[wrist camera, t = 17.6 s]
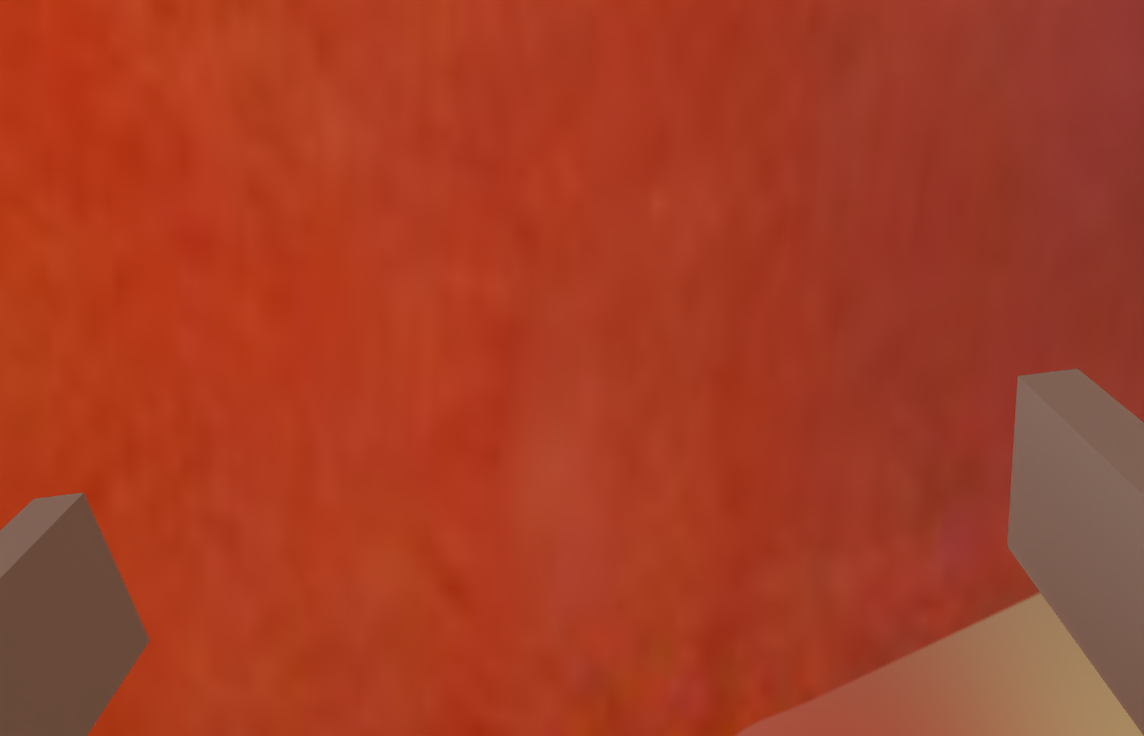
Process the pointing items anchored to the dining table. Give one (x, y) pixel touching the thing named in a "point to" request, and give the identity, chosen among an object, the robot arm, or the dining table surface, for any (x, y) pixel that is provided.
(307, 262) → the dining table surface
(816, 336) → the dining table surface
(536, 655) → the dining table surface
